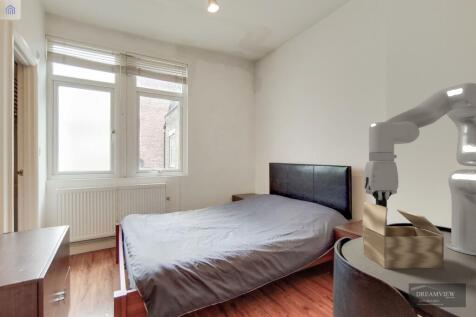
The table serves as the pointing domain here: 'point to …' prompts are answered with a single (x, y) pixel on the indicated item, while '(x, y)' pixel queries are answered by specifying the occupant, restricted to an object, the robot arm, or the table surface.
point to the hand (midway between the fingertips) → (381, 210)
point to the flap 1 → (375, 217)
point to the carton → (404, 248)
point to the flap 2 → (420, 221)
